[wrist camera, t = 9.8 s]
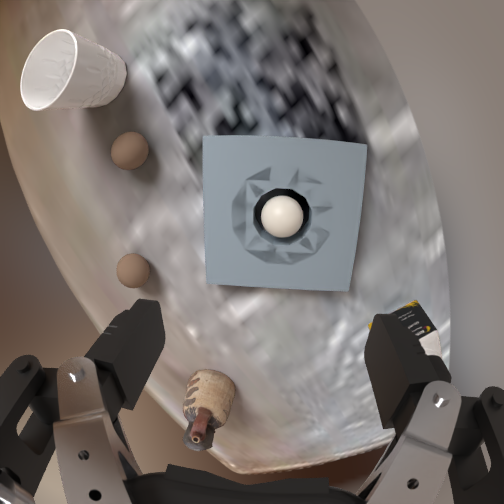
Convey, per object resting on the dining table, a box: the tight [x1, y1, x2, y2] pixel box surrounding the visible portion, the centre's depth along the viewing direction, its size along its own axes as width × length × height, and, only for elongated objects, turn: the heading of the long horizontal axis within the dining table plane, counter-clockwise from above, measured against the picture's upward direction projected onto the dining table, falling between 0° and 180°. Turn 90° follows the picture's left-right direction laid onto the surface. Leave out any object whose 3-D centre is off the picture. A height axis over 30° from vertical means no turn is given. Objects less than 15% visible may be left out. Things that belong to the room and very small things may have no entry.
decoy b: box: [117, 254, 150, 288], centre depth 31 cm, size 4×4×4 cm
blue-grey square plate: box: [203, 135, 367, 292], centre depth 28 cm, size 15×15×2 cm
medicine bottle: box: [368, 300, 451, 383], centre depth 28 cm, size 7×7×12 cm
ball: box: [261, 196, 303, 238], centre depth 27 cm, size 4×4×4 cm
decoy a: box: [111, 132, 149, 170], centre depth 26 cm, size 4×4×4 cm
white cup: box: [21, 29, 127, 111], centre depth 20 cm, size 8×8×10 cm
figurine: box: [183, 369, 235, 451], centre depth 34 cm, size 7×7×12 cm
